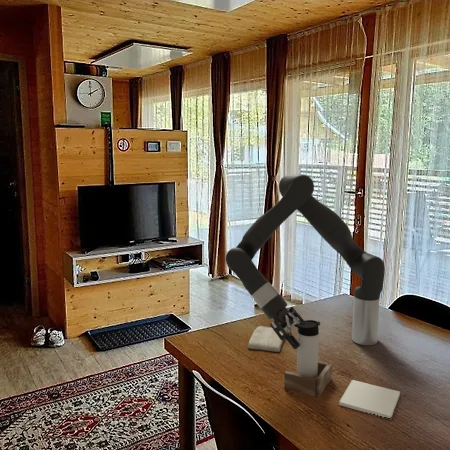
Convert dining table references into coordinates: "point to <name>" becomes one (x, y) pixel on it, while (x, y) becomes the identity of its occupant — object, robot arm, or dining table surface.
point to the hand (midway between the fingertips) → (302, 342)
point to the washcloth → (265, 339)
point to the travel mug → (308, 348)
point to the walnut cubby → (309, 380)
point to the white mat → (370, 399)
